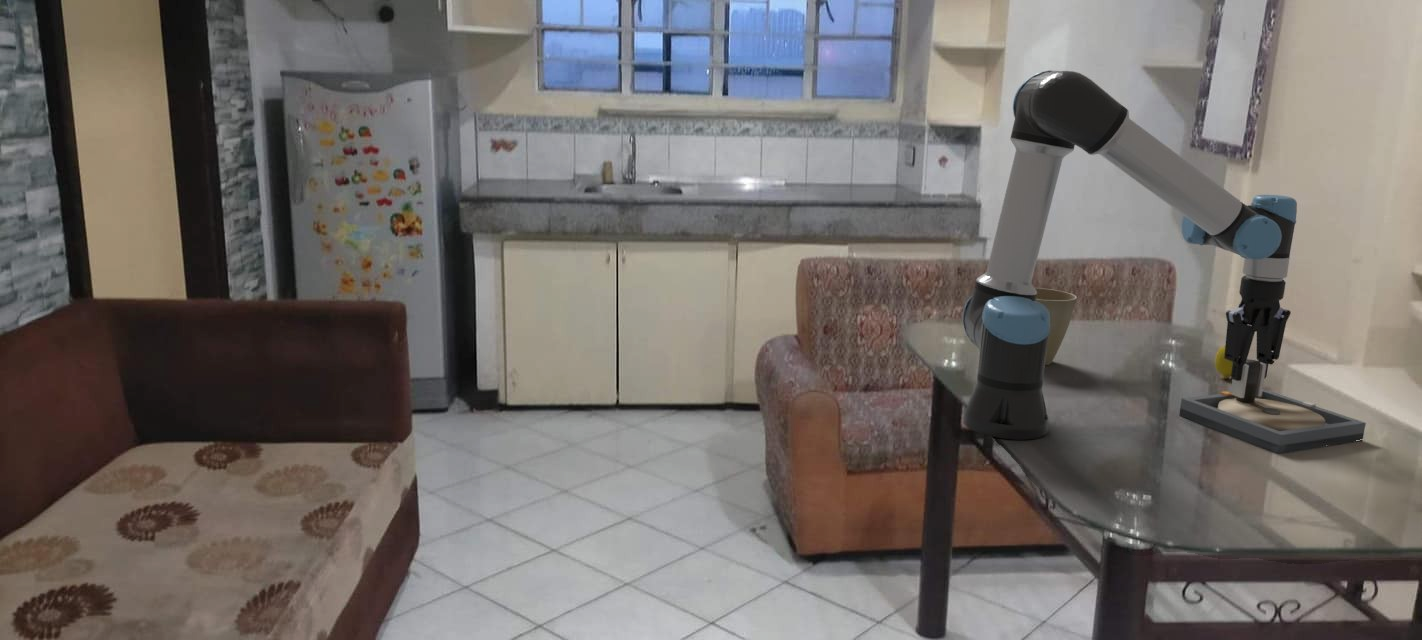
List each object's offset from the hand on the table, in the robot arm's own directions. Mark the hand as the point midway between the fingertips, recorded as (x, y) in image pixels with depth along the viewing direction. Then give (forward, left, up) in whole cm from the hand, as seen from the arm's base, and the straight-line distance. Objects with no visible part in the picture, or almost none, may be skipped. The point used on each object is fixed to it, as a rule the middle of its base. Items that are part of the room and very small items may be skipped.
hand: (1245, 394), depth 204 cm
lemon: (+20, +21, -5) cm, 29 cm away
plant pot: (-13, +45, -5) cm, 47 cm away
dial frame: (-1, -7, -4) cm, 8 cm away
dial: (-1, -7, -3) cm, 7 cm away
